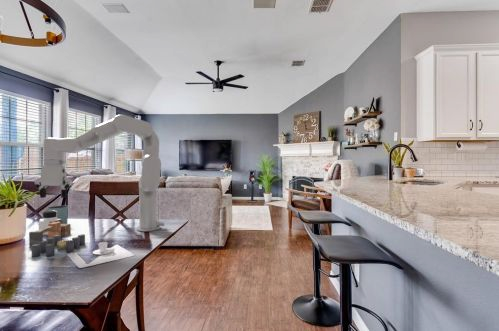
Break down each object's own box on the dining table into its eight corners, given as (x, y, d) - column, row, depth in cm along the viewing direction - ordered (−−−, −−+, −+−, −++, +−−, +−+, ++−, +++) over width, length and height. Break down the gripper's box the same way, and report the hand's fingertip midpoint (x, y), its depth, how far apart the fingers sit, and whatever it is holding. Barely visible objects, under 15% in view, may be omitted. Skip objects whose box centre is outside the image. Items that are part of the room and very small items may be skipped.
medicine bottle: (49, 235, 140) (49, 212, 140) (38, 234, 142) (38, 211, 141) (61, 231, 147) (61, 209, 147) (51, 231, 149) (50, 209, 148)
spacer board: (88, 243, 127) (88, 233, 127) (62, 259, 107) (62, 246, 107) (58, 244, 126) (58, 233, 126) (26, 259, 106) (26, 247, 106)
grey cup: (64, 228, 154) (64, 207, 153) (43, 230, 151) (43, 208, 150) (70, 224, 163) (70, 204, 163) (51, 225, 160) (51, 205, 160)
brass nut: (71, 246, 121) (71, 239, 121) (65, 249, 116) (65, 242, 116) (61, 246, 120) (60, 240, 120) (54, 250, 116) (54, 243, 116)
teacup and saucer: (117, 253, 113) (117, 243, 113) (96, 257, 108) (96, 247, 108) (110, 248, 120) (110, 239, 120) (90, 252, 114) (90, 242, 114)
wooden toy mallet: (59, 234, 142) (59, 219, 142) (70, 233, 143) (70, 218, 143) (28, 247, 120) (28, 230, 120) (41, 247, 121) (41, 229, 121)
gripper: (75, 163, 137) (76, 196, 137) (40, 162, 136) (40, 196, 136) (67, 163, 130) (67, 198, 130) (29, 162, 128) (29, 198, 129)
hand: (53, 197), depth 133 cm, fingers open, 9 cm apart
